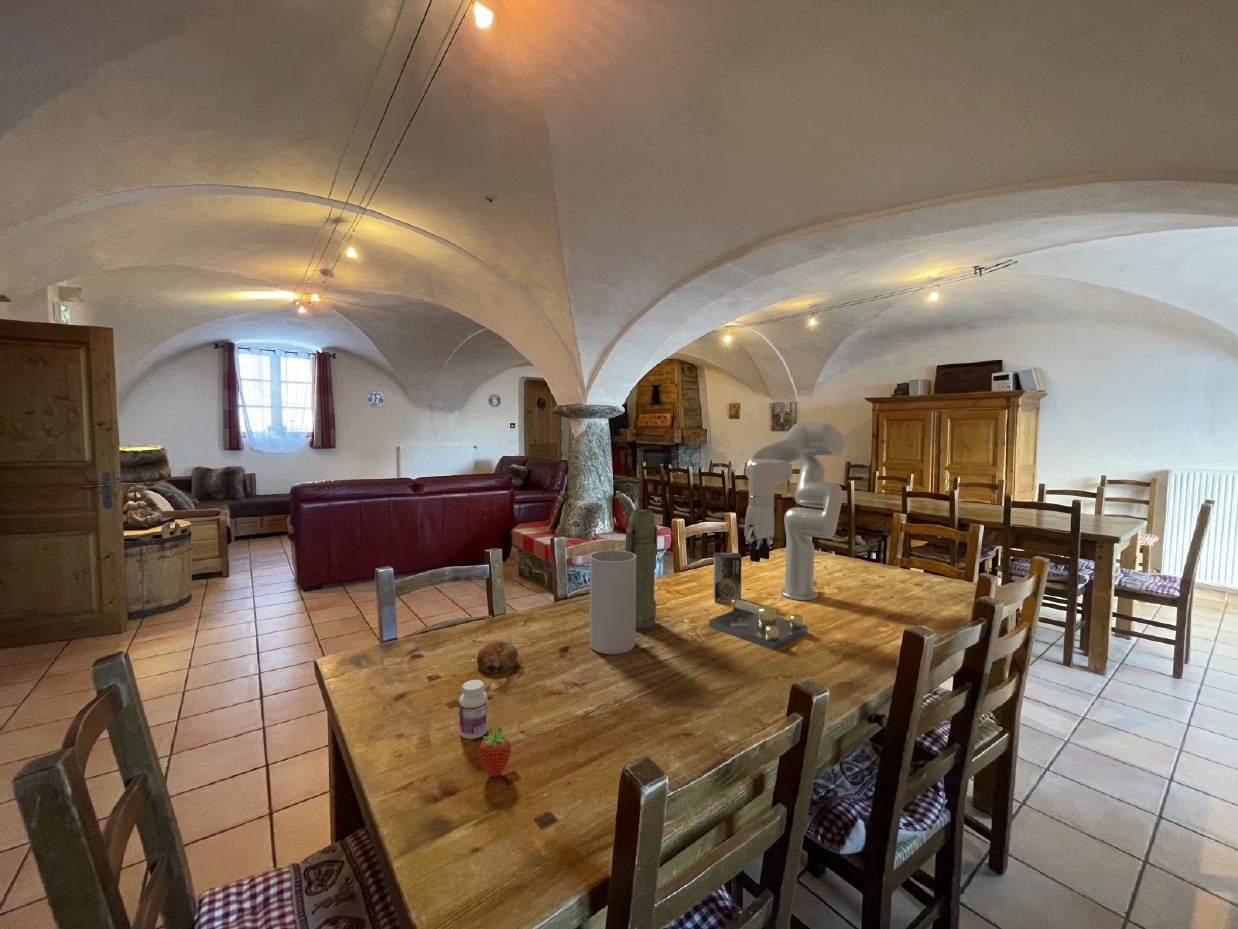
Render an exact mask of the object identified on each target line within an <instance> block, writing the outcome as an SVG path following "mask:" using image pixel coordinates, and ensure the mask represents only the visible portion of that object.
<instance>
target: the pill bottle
mask: <svg viewBox="0 0 1238 929" xmlns="http://www.w3.org/2000/svg"><path fill="white" fill-rule="evenodd" d="M484 685H485V684H484V681H482V680H480V679H471V680H467V681H466V682H464V683H463V684H462V691H461V692H462V693H461V695H460V697H459V699H458V710H459V711H458V713H459V714H458V715H459V716H458V718H459V733H460V735H461V737H463V738H465V739H467V740H474V739H478V738H481V737H482V736H484V735H485V734H486V733H487V731H488V729H489V717H488V716H489V710H488V709H489V708H488V703H489V702H488V695H487V693H486V691H485V686H484Z"/></svg>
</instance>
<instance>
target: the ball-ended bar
mask: <svg viewBox="0 0 1238 929" xmlns="http://www.w3.org/2000/svg"><path fill="white" fill-rule="evenodd" d="M730 604H731V605H730V606H731V610H730V611H739V609H742V610H746V611H749V612H752V613H755V614H758V626H759V627H761V628H765V629H766V626H769V625H772V626H776V616H777V608H775V607H774V606H770V605H769V606H768V605H758V604H755V603H752V602H751V603H749V602H748V601H745V600H742V599H741V600H738V599H732V603H730Z"/></svg>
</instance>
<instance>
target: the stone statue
mask: <svg viewBox="0 0 1238 929" xmlns="http://www.w3.org/2000/svg"><path fill="white" fill-rule="evenodd" d="M655 522H656V521H655V517H654V514H653V511H651V510H650V509H647V508H637V509H636V508H635V509H634V510H632V512H631V514H630V517H629V523H628V524H629V525H628V527H627V528H626V531H625V551H626V552H630V553H633V554H635V555H636V629H635V630H641V631H643V630H644V631H645V630H650V629H652V628H654V627H655V626H656V618H657V617H656V616H657V614H656V612H657V603H656V599H655V571H656V569H657V555H658V527H657V525H656V524H655Z"/></svg>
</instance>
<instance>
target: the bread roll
mask: <svg viewBox="0 0 1238 929" xmlns="http://www.w3.org/2000/svg"><path fill="white" fill-rule="evenodd" d="M514 645H515V644H513V643H512V642H510V641H509V640H506V639H503V638H491V639H490V640H489V641H488V642H486V643H485V644H484V645H483V646H482V647H480V649H479V651H478V653H477V658H476V665H477V667H478V669H479V670H480V671H482V672H485V673H494V674H495V673H501V672H504V671H507V670H508V669H512V668H513V667H514V666H515V665H516V664H517V660H518V656H519V654H518V650H517V648H516V646H514Z"/></svg>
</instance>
